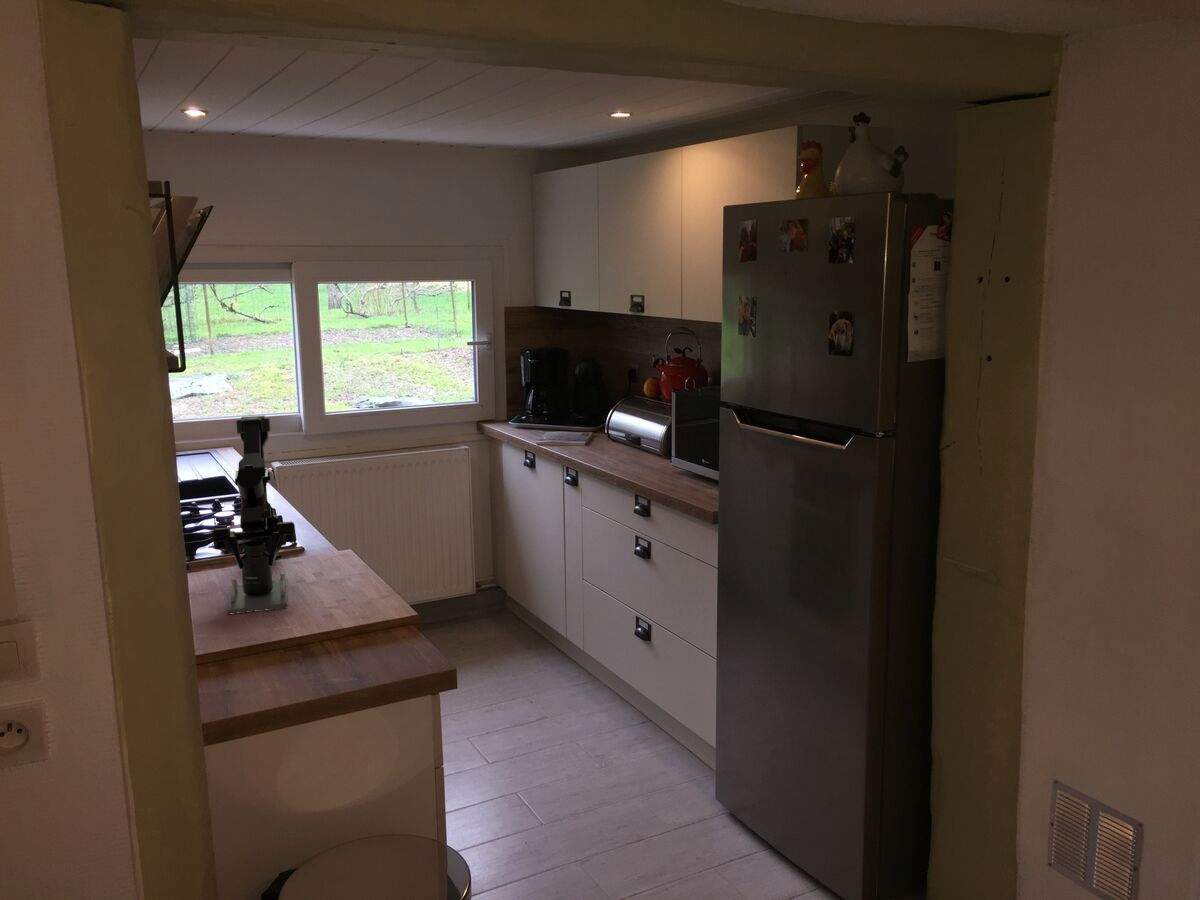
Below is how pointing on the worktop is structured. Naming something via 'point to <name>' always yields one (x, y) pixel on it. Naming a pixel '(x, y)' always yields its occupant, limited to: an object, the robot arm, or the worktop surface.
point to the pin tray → (258, 597)
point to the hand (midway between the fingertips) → (256, 566)
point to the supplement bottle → (256, 569)
